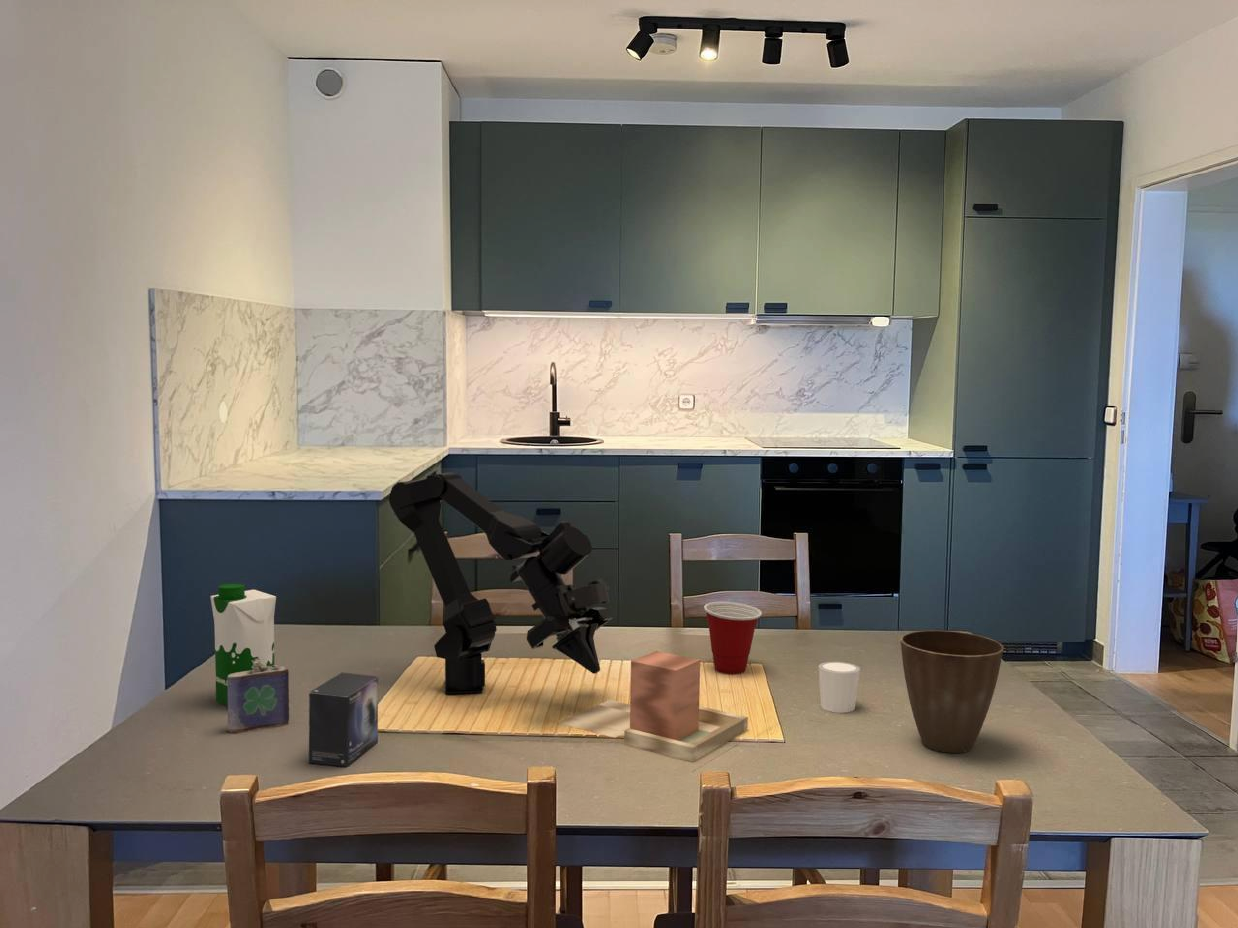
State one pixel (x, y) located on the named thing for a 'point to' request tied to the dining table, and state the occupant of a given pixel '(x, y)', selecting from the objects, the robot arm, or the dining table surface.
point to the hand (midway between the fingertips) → (597, 672)
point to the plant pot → (950, 685)
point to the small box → (343, 719)
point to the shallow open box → (616, 721)
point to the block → (665, 695)
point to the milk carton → (241, 632)
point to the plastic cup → (731, 634)
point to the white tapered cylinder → (838, 686)
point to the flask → (258, 698)
